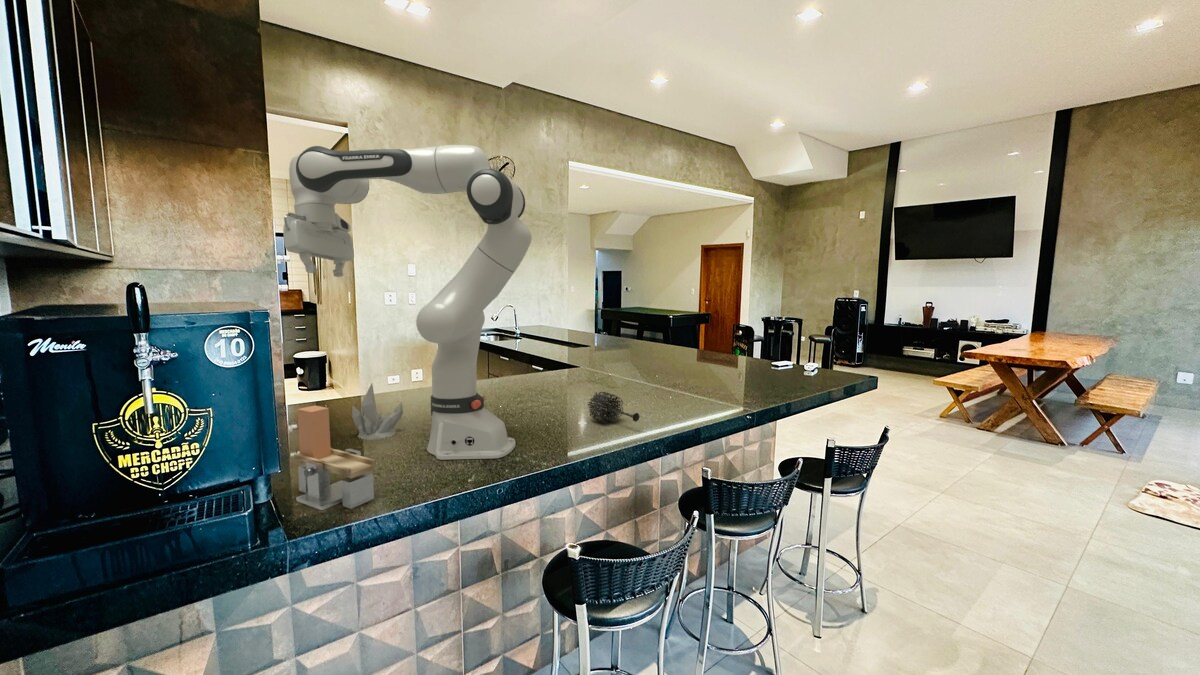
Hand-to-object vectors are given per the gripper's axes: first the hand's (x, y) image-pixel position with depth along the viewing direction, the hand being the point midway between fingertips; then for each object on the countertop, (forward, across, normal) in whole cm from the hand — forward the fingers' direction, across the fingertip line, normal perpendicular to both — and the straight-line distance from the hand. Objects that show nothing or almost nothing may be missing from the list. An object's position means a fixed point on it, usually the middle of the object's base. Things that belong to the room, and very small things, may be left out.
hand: (325, 274), depth 120 cm
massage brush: (+54, +38, -60) cm, 89 cm away
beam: (+43, -23, -12) cm, 50 cm away
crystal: (+44, +15, +3) cm, 47 cm away
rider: (+42, -21, -7) cm, 47 cm away
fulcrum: (+50, -22, -11) cm, 56 cm away
